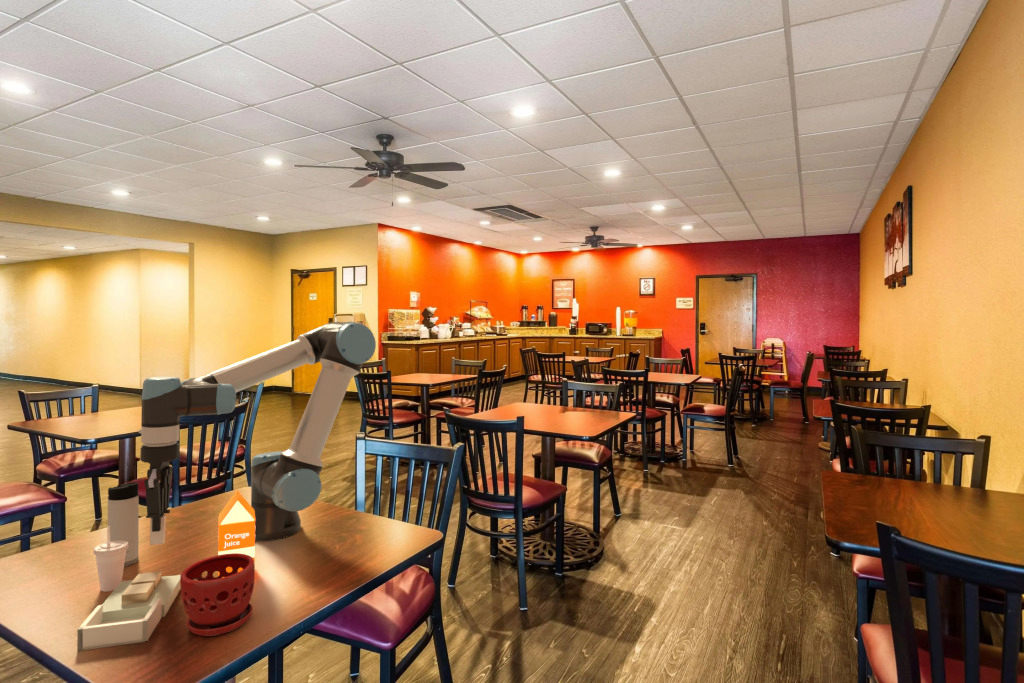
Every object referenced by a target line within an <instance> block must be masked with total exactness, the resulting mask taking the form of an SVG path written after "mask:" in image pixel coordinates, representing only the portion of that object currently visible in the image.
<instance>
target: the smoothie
mask: <svg viewBox="0 0 1024 683" xmlns="http://www.w3.org/2000/svg"><path fill="white" fill-rule="evenodd" d="M128 547H129V546H128V542H127V541H123V540H116V541H110V526H108V525H107V527H106V541H105V542H102V543H100V544H97V545H95V546H94V547H93V552H92V553H93V555H95V561H96V567H97V568H96V569H97V574H98V581H99V587H100V588H99V589H100V591H101V592H104V593H105V592H106V593H107V592H113V591H114V590H115V588H116V587H117V586H118V585H119V584H120V582H121V581H123V574H124V568H125V567H124V563H125V556H126V549H127V548H128Z"/></svg>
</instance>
